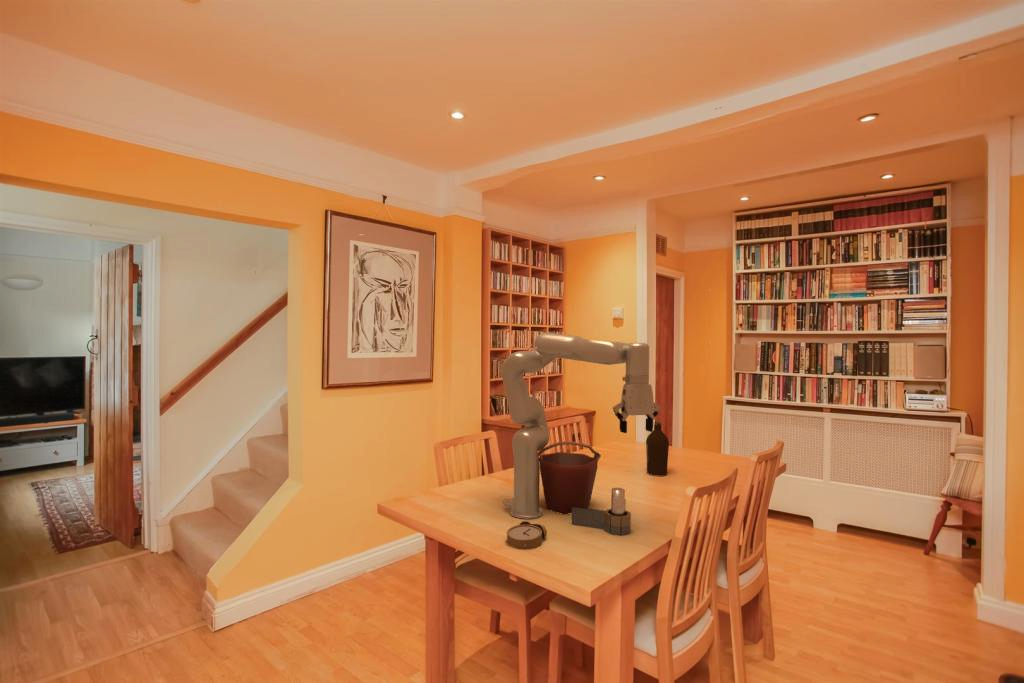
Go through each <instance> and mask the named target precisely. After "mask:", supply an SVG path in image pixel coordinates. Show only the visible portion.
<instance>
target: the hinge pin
mask: <svg viewBox="0 0 1024 683" xmlns="http://www.w3.org/2000/svg"><path fill="white" fill-rule="evenodd" d="M625 493H626V490H625V489H624V488H622V487H613V488H611V498H610V499H611V502H610V509H611V515H614V516H624V512H625V499H626V498H625V497H626V494H625Z"/></svg>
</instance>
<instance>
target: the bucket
mask: <svg viewBox="0 0 1024 683" xmlns="http://www.w3.org/2000/svg"><path fill="white" fill-rule="evenodd" d="M563 445H564V446H565V445H566V446H567V445H568V446H569V445H570V446H571V445H572V446H578V447H583V448H587V449H589V450H590V452H591V453H592V454H594V455H593V456H590V455H588V454H585V453H576V452H564V451H563V452H560V451H558V452H551V453H546V454H543V453H544V452H546V451H548V450H550V449H553V448H556V447H558V446H563ZM537 453H538V458H539V464H540V477H541V486H542V490H543V496H544V503H545V508H546V510H547V509H548V510H547V511H550V510H552V511H551V512H553V511H555V512H554V513H557V512H559V513H558V514H560V513H562V514H561V515H569V514H568V513H572V506H574V507H582V508H590V504H591V500H592V494H593V490H594V485H595V481H596V476H597V472H598V462H599V461H600V458H601V454H600V453H599V452H598V451H595V450H594V448H593V447H592V446H591V445H590V444H585V443H582V442H575V441H557V442H554V443H552V444H550V445H546V446H545V447H544V448H542V449H540V450H538V451H537Z"/></svg>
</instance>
